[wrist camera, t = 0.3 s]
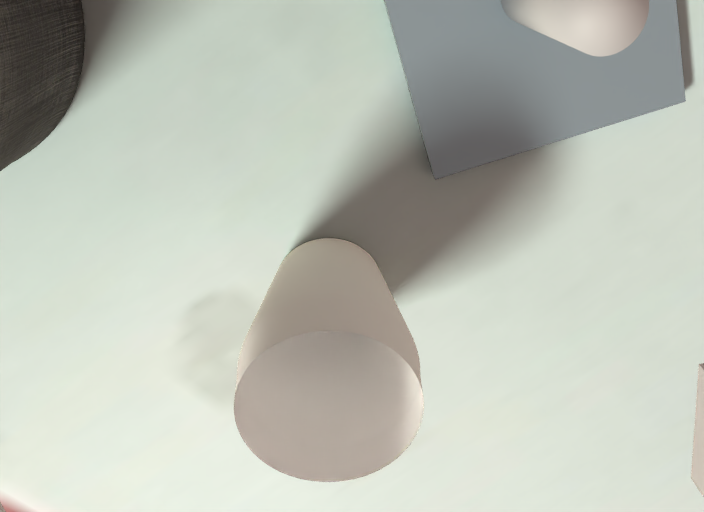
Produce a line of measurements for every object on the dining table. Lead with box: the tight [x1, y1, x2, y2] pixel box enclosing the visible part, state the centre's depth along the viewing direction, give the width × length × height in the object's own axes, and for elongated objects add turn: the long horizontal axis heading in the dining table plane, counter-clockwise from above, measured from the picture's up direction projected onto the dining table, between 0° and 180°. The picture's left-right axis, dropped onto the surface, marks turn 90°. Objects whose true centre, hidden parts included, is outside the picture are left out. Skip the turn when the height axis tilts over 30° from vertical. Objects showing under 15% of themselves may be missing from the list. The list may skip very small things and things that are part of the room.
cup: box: [234, 238, 424, 482], centre depth 35 cm, size 9×9×12 cm
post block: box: [384, 0, 686, 179], centre depth 29 cm, size 16×14×11 cm
